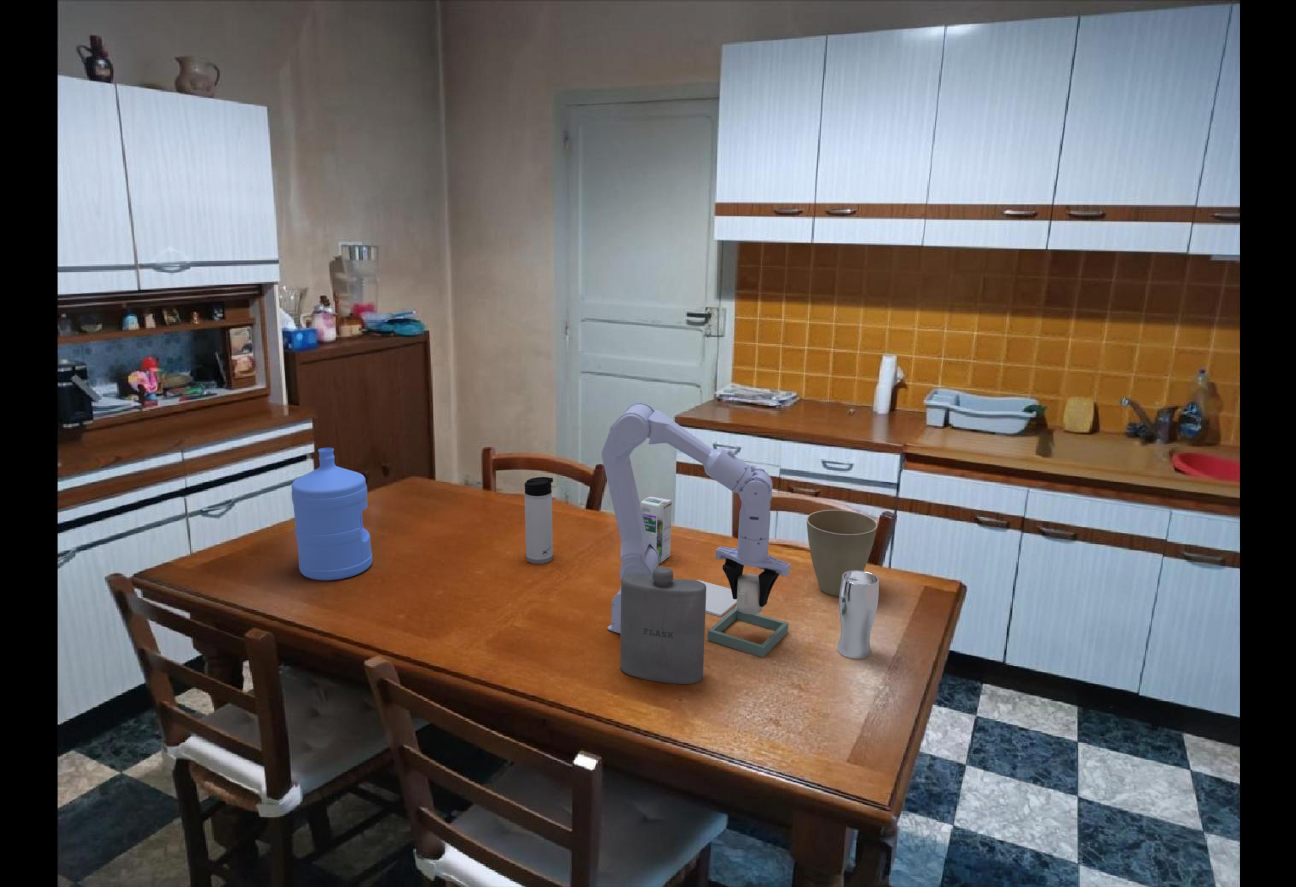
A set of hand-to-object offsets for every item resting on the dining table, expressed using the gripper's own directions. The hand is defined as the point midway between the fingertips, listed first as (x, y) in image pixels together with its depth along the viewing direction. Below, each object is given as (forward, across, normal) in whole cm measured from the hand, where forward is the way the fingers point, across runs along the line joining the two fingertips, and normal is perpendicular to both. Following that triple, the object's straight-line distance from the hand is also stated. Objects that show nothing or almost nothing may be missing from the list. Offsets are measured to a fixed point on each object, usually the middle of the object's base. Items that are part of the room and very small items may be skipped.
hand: (749, 601), depth 153 cm
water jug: (+8, +92, +24) cm, 95 cm away
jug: (+2, 0, 0) cm, 2 cm away
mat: (+8, +14, -10) cm, 19 cm away
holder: (+7, 0, 0) cm, 7 cm away
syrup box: (+8, +35, -22) cm, 42 cm away
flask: (+8, +7, +21) cm, 23 cm away
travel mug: (+8, +57, -6) cm, 58 cm away
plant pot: (+8, -7, -30) cm, 32 cm away
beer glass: (+8, -19, -6) cm, 21 cm away
